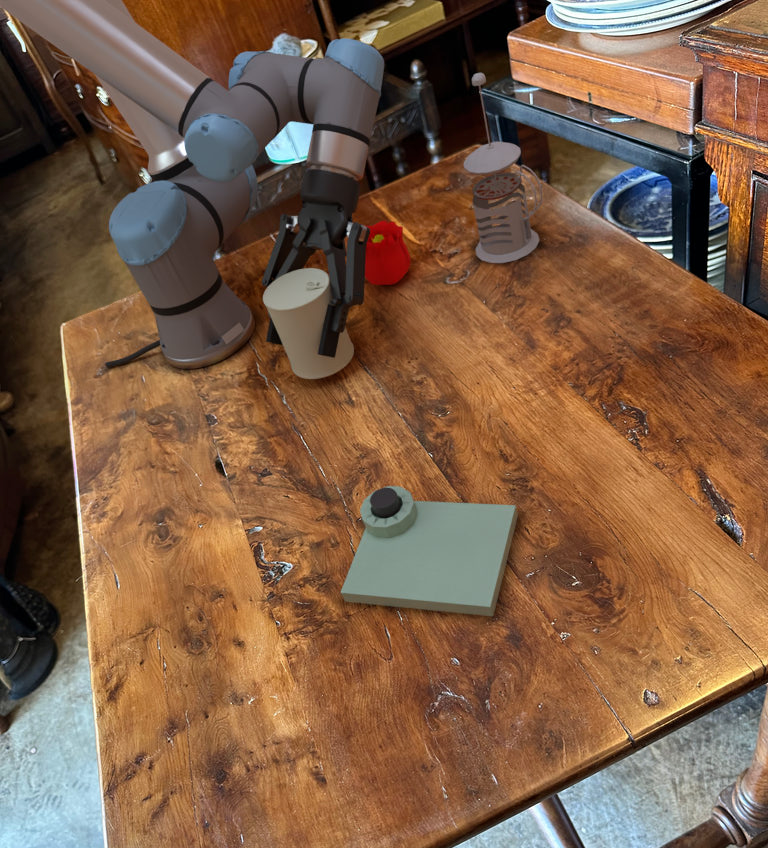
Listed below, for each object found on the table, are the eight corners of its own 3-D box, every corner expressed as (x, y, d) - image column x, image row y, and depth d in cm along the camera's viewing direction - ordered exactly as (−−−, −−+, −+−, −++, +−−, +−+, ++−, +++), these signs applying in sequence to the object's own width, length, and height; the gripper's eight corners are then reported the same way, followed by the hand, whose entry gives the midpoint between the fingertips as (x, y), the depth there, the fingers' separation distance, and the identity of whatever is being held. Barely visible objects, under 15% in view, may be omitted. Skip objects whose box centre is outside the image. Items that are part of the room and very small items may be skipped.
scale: (341, 601, 83) (330, 581, 81) (378, 505, 91) (369, 485, 88) (493, 616, 77) (487, 596, 74) (519, 512, 85) (514, 490, 82)
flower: (424, 271, 122) (412, 224, 116) (391, 299, 119) (376, 252, 113) (389, 261, 127) (375, 216, 121) (356, 288, 124) (340, 242, 118)
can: (346, 377, 106) (318, 302, 98) (284, 381, 109) (252, 309, 101) (360, 334, 112) (335, 260, 103) (301, 340, 115) (272, 268, 106)
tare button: (370, 518, 86) (366, 507, 84) (378, 497, 87) (374, 486, 86) (396, 519, 84) (392, 508, 83) (404, 498, 86) (400, 487, 85)
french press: (494, 224, 125) (464, 58, 108) (561, 230, 119) (541, 54, 101) (463, 259, 121) (426, 91, 103) (531, 267, 115) (504, 90, 97)
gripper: (417, 190, 99) (378, 367, 104) (292, 179, 111) (262, 340, 115) (382, 171, 93) (343, 361, 98) (254, 162, 105) (224, 332, 109)
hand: (299, 349), depth 106 cm, fingers closed on can, 9 cm apart
